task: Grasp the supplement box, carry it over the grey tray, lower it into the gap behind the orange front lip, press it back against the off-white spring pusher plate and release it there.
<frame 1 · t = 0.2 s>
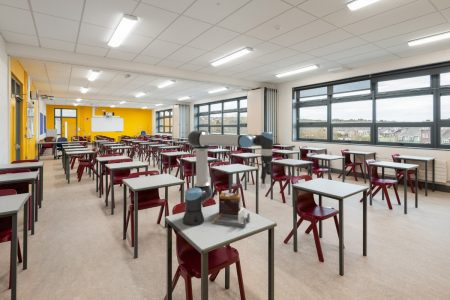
hand: (265, 186, 165), 28 cm above the table, fingers open, 13 cm apart
supplement box: (229, 214, 188), on the table
grey tray: (231, 221, 173), on the table
pusher: (243, 216, 170), point 5 cm above the table, slide at 0.0 cm
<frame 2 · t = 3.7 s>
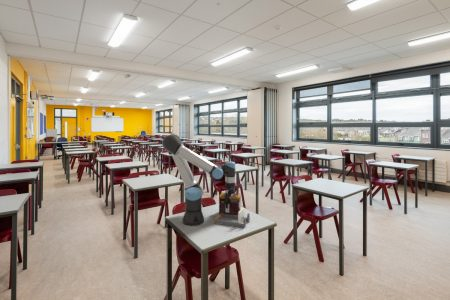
hand: (230, 209, 188), 4 cm above the table, fingers closed on supplement box, 11 cm apart
supplement box: (229, 214, 188), on the table, touching gripper
everything else where it was.
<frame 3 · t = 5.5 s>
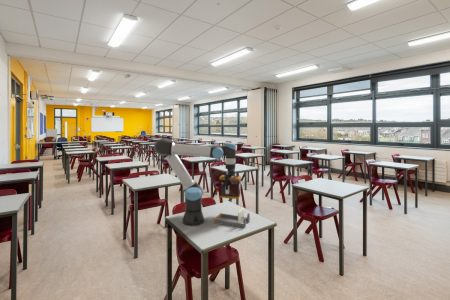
hand: (230, 191, 186), 18 cm above the table, fingers closed on supplement box, 11 cm apart
supplement box: (229, 196, 187), point 14 cm above the table, touching gripper
everything else where it was.
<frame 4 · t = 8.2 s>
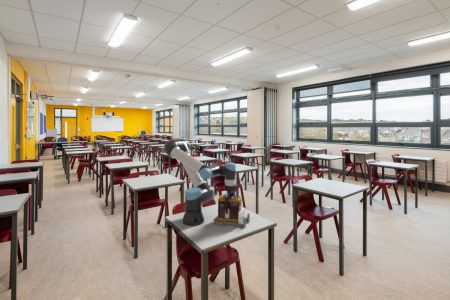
hand: (230, 214, 173), 5 cm above the table, fingers closed on supplement box, 11 cm apart
supplement box: (229, 218, 174), point 2 cm above the table, touching gripper
everything else where it was.
when the fingers open (5 cm above the table, at t = 9.2 s): supplement box stays where it is, resting on grey tray.
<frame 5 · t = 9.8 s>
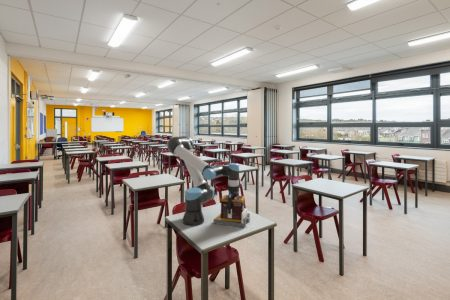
hand: (233, 214, 172), 6 cm above the table, fingers open, 13 cm apart
supplement box: (232, 218, 173), point 2 cm above the table, touching grey tray
pusher: (247, 217, 169), point 5 cm above the table, slide at 2.5 cm
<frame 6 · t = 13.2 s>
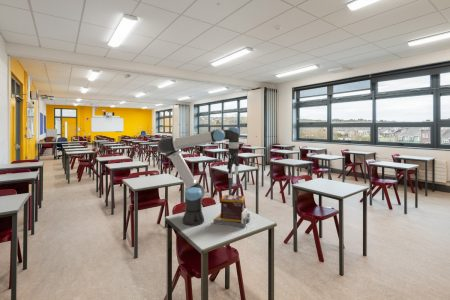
hand: (233, 176, 183), 31 cm above the table, fingers open, 13 cm apart
nothing on the table moved.
at the end: supplement box inside the target area (1.7 cm from its centre), point 2.3 cm above the table; supplement box tilted 0°; the gripper is holding nothing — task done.
